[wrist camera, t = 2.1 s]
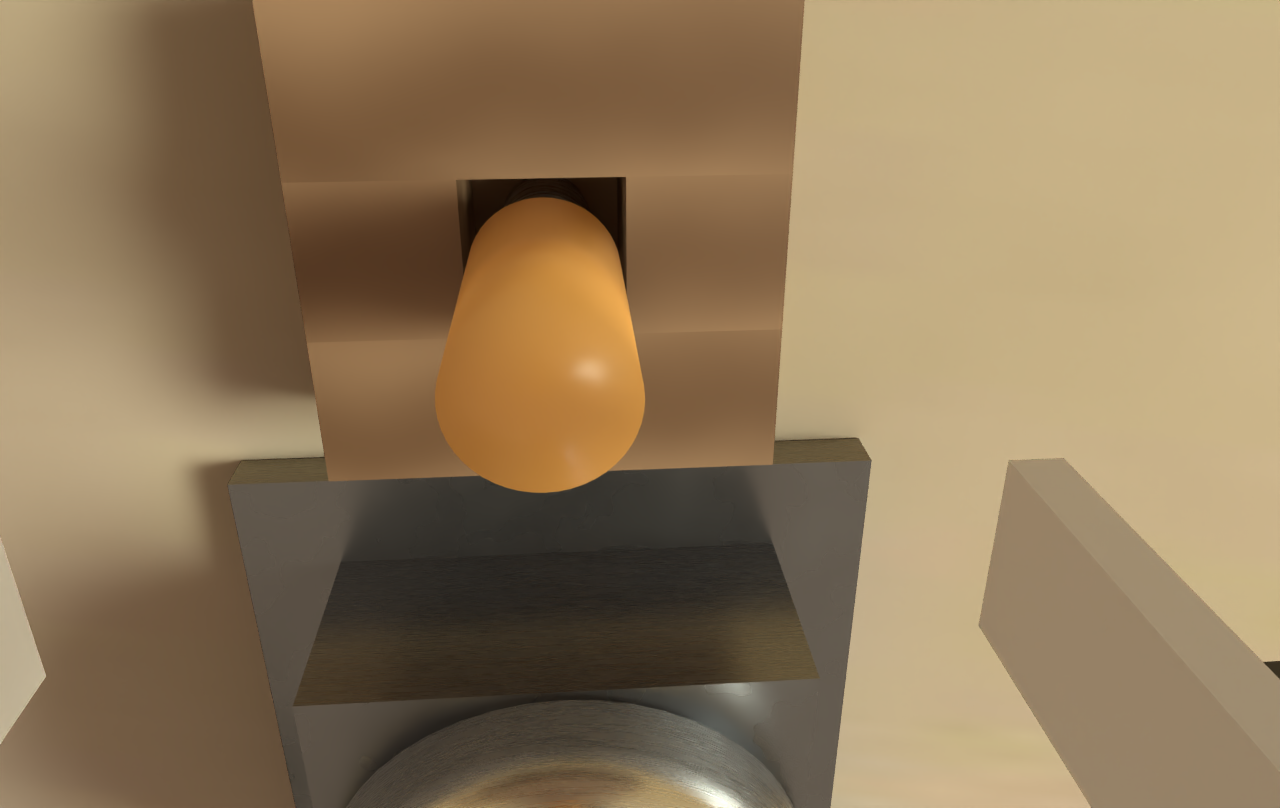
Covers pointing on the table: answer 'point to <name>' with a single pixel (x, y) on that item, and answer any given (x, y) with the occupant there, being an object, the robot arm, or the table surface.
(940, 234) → the table surface
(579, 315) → the orange rounded rod
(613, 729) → the chuck
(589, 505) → the stand
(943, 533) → the table surface
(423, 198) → the wooden hole block
